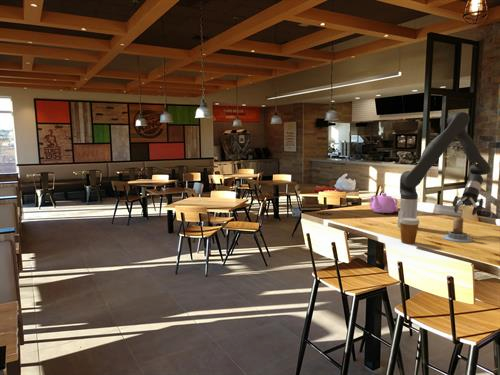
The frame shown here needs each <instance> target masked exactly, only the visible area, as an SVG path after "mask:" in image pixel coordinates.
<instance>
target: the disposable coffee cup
mask: <svg viewBox="0 0 500 375" xmlns="http://www.w3.org/2000/svg"><path fill="white" fill-rule="evenodd" d="M399 222H400V227H399V230H400V242H401V243H402V244H405V245H415V244H416V239H417V235H418V234H417V233H418V228H419V225H420V220H419V218H410V217H402V218H400V220H399Z"/></svg>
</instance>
